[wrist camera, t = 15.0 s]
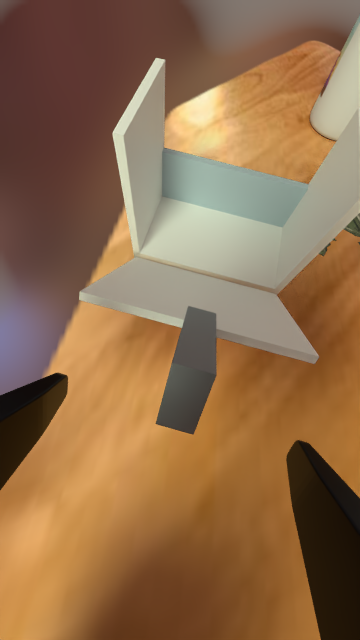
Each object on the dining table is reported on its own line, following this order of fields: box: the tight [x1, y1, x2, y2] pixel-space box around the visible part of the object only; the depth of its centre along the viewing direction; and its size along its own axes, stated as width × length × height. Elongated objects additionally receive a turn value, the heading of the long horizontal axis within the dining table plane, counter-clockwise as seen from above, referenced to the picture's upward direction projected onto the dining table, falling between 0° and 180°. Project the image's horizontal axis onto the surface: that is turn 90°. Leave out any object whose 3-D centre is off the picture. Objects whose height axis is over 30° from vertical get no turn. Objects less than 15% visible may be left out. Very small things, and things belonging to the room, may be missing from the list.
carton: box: [113, 58, 360, 295], centre depth 19 cm, size 8×14×12 cm, turn 75°
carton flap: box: [79, 257, 319, 434], centre depth 15 cm, size 3×13×15 cm
